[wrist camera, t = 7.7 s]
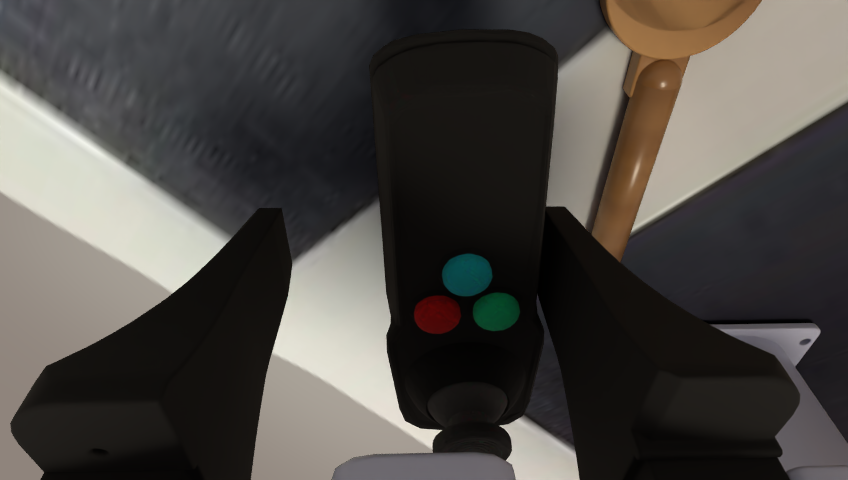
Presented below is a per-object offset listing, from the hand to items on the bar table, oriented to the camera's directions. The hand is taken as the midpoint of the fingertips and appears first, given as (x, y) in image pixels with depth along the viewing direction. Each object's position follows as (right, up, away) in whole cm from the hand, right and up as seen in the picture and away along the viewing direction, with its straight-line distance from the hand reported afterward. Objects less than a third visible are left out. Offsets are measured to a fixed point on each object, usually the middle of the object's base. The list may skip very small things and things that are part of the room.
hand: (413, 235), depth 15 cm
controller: (+1, +3, +4) cm, 6 cm away
